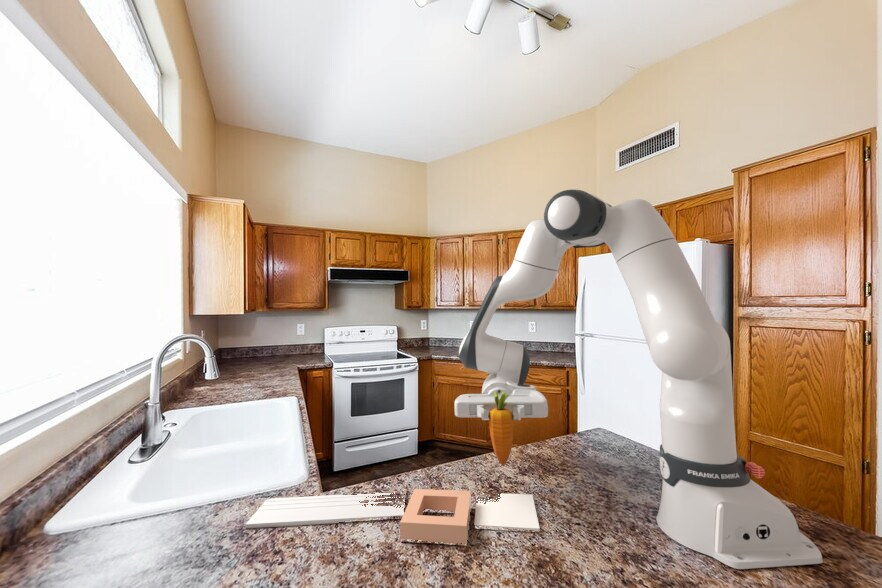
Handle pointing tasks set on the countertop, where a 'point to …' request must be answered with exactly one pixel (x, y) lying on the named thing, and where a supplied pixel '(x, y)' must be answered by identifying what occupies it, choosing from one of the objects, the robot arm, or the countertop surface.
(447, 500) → the holder ring
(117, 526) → the countertop surface
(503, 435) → the carrot
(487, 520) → the plate
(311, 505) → the baseboard molding
